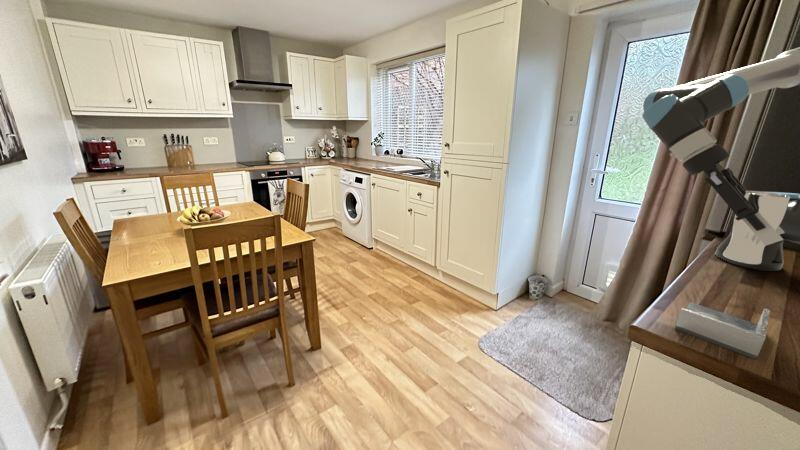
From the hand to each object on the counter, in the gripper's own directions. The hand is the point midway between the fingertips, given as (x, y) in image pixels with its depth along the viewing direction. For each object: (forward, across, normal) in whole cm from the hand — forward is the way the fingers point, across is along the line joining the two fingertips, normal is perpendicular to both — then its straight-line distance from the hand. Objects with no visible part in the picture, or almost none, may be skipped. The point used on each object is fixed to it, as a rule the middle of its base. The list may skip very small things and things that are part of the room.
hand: (775, 238), depth 67 cm
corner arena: (+12, +11, -15) cm, 22 cm away
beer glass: (+2, 0, -7) cm, 7 cm away
